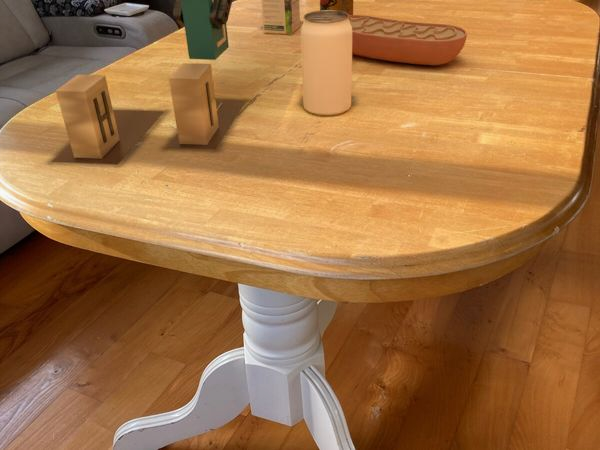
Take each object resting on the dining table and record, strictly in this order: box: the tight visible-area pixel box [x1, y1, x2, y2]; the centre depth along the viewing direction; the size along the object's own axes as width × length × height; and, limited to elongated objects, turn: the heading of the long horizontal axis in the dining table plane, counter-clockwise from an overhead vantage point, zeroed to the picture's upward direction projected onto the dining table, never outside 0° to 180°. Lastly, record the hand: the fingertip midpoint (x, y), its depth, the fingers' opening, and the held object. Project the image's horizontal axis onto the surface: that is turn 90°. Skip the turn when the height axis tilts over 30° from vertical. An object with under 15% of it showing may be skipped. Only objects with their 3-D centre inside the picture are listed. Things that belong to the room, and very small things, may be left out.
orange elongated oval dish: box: [348, 14, 468, 67], centre depth 93 cm, size 23×10×5 cm, turn 59°
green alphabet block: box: [181, 0, 230, 61], centre depth 70 cm, size 4×5×8 cm
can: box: [300, 10, 353, 117], centre depth 75 cm, size 6×6×12 cm
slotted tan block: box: [166, 62, 247, 151], centre depth 71 cm, size 6×15×9 cm, turn 171°
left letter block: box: [51, 74, 165, 166], centre depth 69 cm, size 8×15×9 cm, turn 171°
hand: (198, 23), depth 68 cm, fingers closed on green alphabet block, 4 cm apart
